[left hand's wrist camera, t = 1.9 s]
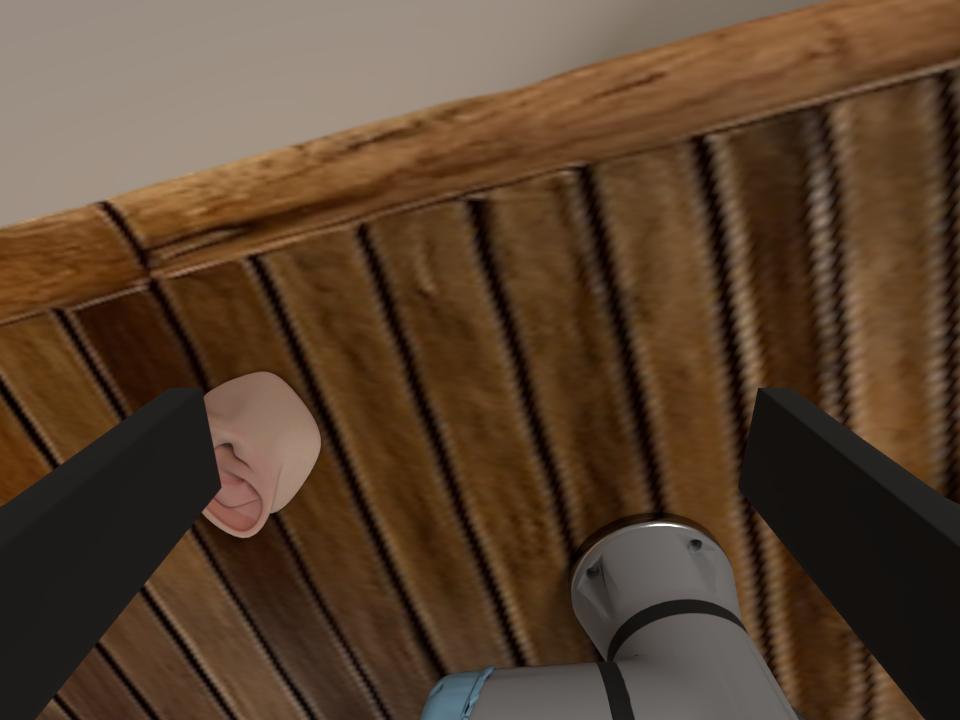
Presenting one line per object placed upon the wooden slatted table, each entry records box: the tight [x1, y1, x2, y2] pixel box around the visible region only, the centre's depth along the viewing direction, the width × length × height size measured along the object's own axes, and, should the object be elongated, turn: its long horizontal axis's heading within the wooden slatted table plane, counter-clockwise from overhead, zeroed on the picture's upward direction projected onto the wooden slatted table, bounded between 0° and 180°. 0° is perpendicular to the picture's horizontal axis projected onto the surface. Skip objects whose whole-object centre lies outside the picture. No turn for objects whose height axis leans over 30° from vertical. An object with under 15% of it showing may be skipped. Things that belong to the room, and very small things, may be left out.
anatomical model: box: [202, 372, 321, 538], centre depth 44 cm, size 13×4×12 cm
